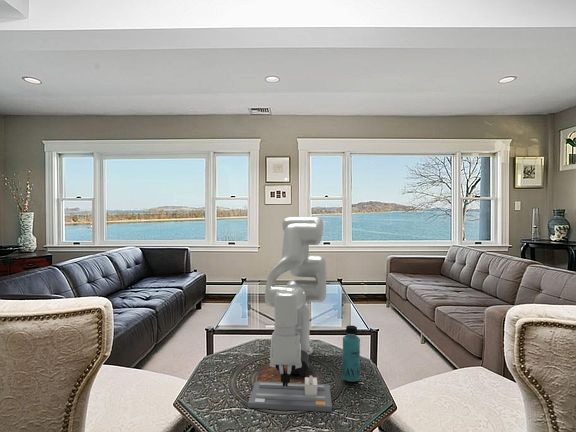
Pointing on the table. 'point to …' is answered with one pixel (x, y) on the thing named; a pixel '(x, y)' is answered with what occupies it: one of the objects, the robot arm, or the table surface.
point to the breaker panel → (289, 397)
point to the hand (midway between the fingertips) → (285, 384)
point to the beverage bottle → (351, 355)
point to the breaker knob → (310, 386)
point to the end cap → (304, 369)
